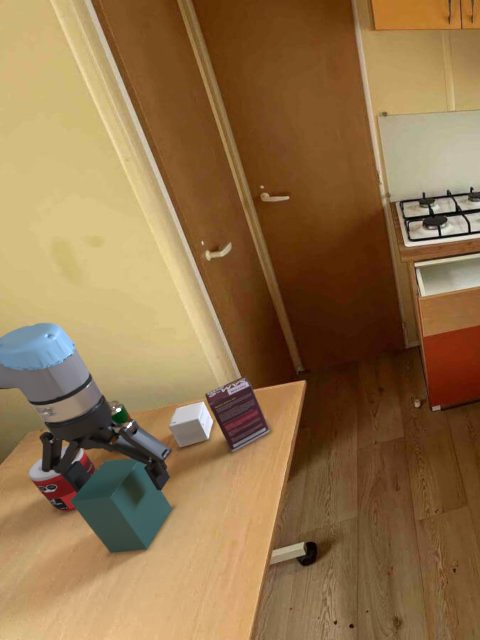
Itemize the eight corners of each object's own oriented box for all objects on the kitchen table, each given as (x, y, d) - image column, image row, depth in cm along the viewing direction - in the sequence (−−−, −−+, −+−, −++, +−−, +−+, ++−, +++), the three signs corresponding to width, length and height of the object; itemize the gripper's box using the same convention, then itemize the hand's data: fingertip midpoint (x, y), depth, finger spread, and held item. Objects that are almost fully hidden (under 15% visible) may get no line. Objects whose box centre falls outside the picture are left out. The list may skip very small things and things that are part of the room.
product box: (208, 440, 102) (198, 419, 99) (179, 448, 100) (167, 427, 97) (213, 421, 107) (204, 400, 104) (185, 429, 105) (174, 408, 102)
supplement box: (264, 421, 108) (246, 374, 100) (270, 432, 104) (252, 385, 97) (225, 441, 102) (203, 393, 95) (231, 453, 99) (208, 405, 92)
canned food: (54, 496, 90) (26, 462, 85) (103, 471, 95) (80, 438, 90) (57, 521, 85) (28, 487, 80) (108, 493, 90) (84, 459, 85)
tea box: (69, 501, 73) (104, 460, 80) (110, 553, 80) (139, 511, 87) (110, 497, 73) (141, 457, 80) (147, 549, 81) (172, 508, 88)
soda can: (129, 433, 104) (108, 398, 99) (147, 435, 104) (127, 400, 98) (109, 450, 100) (86, 414, 94) (128, 453, 99) (105, 417, 94)
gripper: (-32, 431, 66) (37, 512, 76) (138, 419, 69) (183, 499, 78) (13, 395, 73) (71, 474, 83) (167, 386, 75) (205, 463, 85)
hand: (126, 486), depth 81 cm, fingers open, 13 cm apart
